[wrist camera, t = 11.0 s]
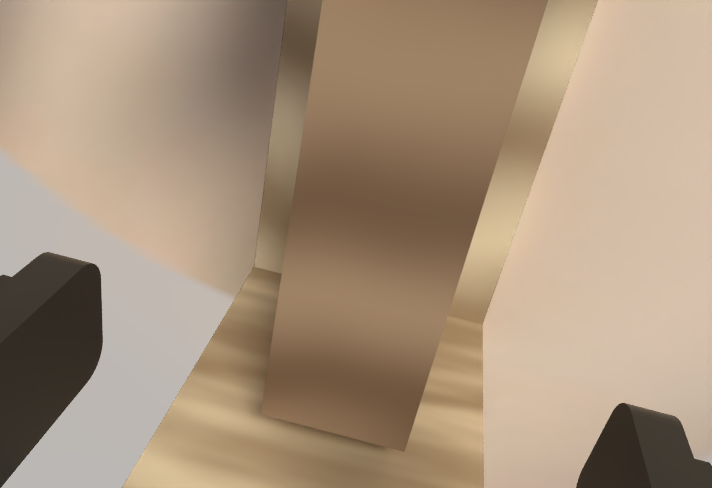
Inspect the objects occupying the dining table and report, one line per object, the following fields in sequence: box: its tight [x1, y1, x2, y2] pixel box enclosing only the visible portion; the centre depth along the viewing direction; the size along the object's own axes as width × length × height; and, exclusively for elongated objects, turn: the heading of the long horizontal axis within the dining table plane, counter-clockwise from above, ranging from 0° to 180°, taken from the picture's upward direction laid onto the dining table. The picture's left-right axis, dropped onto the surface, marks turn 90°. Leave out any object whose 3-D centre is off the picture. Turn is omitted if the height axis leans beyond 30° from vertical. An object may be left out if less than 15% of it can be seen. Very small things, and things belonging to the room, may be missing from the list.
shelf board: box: [261, 0, 548, 452], centre depth 17 cm, size 16×4×5 cm, turn 169°
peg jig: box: [122, 0, 598, 488], centre depth 18 cm, size 22×10×13 cm, turn 169°
